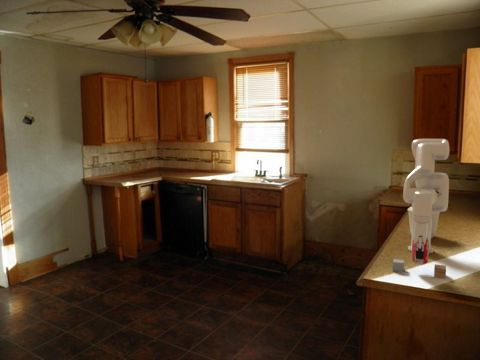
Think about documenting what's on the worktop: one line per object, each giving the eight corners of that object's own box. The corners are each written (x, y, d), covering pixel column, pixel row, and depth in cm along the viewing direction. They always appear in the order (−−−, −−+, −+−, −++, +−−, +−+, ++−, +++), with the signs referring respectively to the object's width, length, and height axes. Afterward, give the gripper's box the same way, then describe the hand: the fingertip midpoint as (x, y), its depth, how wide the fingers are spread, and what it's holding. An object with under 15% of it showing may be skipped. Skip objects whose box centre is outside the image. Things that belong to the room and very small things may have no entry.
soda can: (423, 259, 189) (424, 234, 187) (431, 265, 182) (432, 239, 180) (408, 260, 188) (409, 235, 186) (415, 265, 181) (416, 240, 179)
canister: (404, 238, 239) (406, 203, 237) (407, 231, 255) (409, 198, 252) (438, 242, 231) (440, 206, 228) (439, 234, 247) (441, 200, 244)
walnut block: (434, 273, 184) (434, 264, 184) (445, 275, 182) (446, 265, 182) (433, 277, 180) (434, 267, 180) (445, 278, 178) (446, 268, 178)
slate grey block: (393, 268, 192) (393, 258, 191) (403, 269, 190) (404, 260, 189) (392, 271, 188) (392, 261, 187) (403, 272, 186) (403, 263, 185)
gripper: (414, 213, 191) (412, 249, 194) (411, 222, 176) (409, 261, 179) (431, 214, 188) (429, 251, 191) (430, 224, 172) (428, 263, 175)
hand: (420, 255), depth 184 cm, fingers closed on soda can, 7 cm apart
